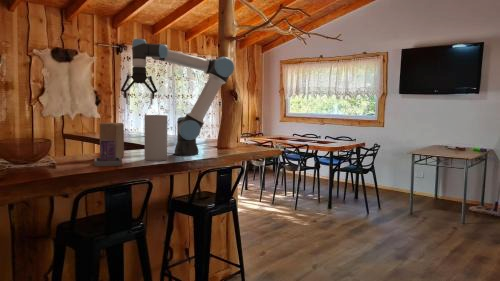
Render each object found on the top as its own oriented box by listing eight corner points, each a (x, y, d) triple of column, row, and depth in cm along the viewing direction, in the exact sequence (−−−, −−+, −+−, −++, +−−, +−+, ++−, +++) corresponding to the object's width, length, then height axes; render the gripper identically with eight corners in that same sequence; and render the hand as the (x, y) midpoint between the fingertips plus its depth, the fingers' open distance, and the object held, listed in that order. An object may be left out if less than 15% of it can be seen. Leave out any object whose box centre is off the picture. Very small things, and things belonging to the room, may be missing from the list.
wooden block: (115, 159, 222) (115, 123, 220) (99, 159, 224) (98, 123, 222) (124, 157, 232) (124, 123, 230) (108, 156, 234) (108, 122, 232)
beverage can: (103, 161, 211) (103, 139, 210) (117, 162, 211) (117, 139, 210) (98, 163, 204) (98, 140, 203) (112, 164, 204) (112, 140, 203)
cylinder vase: (152, 162, 219) (152, 116, 216) (140, 159, 227) (140, 115, 224) (171, 159, 228) (171, 115, 225) (158, 157, 236) (158, 114, 234)
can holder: (120, 161, 216) (120, 157, 216) (122, 165, 204) (122, 160, 204) (94, 162, 211) (94, 157, 211) (94, 166, 199) (94, 161, 199)
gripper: (160, 68, 237) (160, 104, 239) (115, 66, 227) (116, 103, 229) (162, 67, 230) (162, 105, 232) (116, 65, 220) (116, 104, 223)
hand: (139, 104), depth 231 cm, fingers open, 13 cm apart
